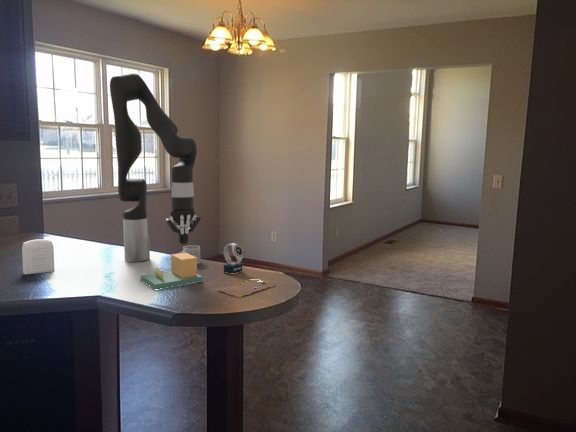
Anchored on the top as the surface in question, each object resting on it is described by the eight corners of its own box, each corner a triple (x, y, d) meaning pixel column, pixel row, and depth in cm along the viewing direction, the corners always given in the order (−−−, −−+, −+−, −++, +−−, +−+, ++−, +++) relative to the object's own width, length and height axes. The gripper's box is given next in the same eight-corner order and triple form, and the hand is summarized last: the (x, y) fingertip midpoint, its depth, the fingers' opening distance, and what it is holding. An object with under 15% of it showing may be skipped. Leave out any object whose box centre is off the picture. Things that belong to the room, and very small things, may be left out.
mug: (192, 260, 197) (192, 244, 196) (203, 262, 193) (203, 246, 192) (173, 265, 189) (173, 248, 188) (185, 268, 185) (184, 251, 184)
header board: (186, 273, 178) (186, 260, 177) (202, 282, 167) (202, 268, 166) (141, 280, 168) (141, 266, 167) (155, 290, 157) (155, 275, 156)
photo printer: (53, 269, 180) (52, 237, 178) (55, 271, 177) (53, 239, 175) (22, 272, 175) (20, 239, 173) (24, 275, 171) (21, 241, 169)
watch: (236, 275, 176) (236, 246, 174) (220, 271, 181) (220, 243, 179) (246, 272, 181) (246, 243, 179) (230, 268, 185) (230, 241, 183)
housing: (186, 269, 175) (185, 252, 174) (197, 275, 168) (196, 257, 167) (171, 272, 172) (171, 254, 171) (182, 278, 164) (181, 259, 163)
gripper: (195, 193, 172) (196, 240, 175) (160, 195, 164) (161, 244, 167) (204, 195, 166) (205, 244, 169) (168, 197, 158) (169, 248, 161)
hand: (183, 244), depth 168 cm, fingers closed
